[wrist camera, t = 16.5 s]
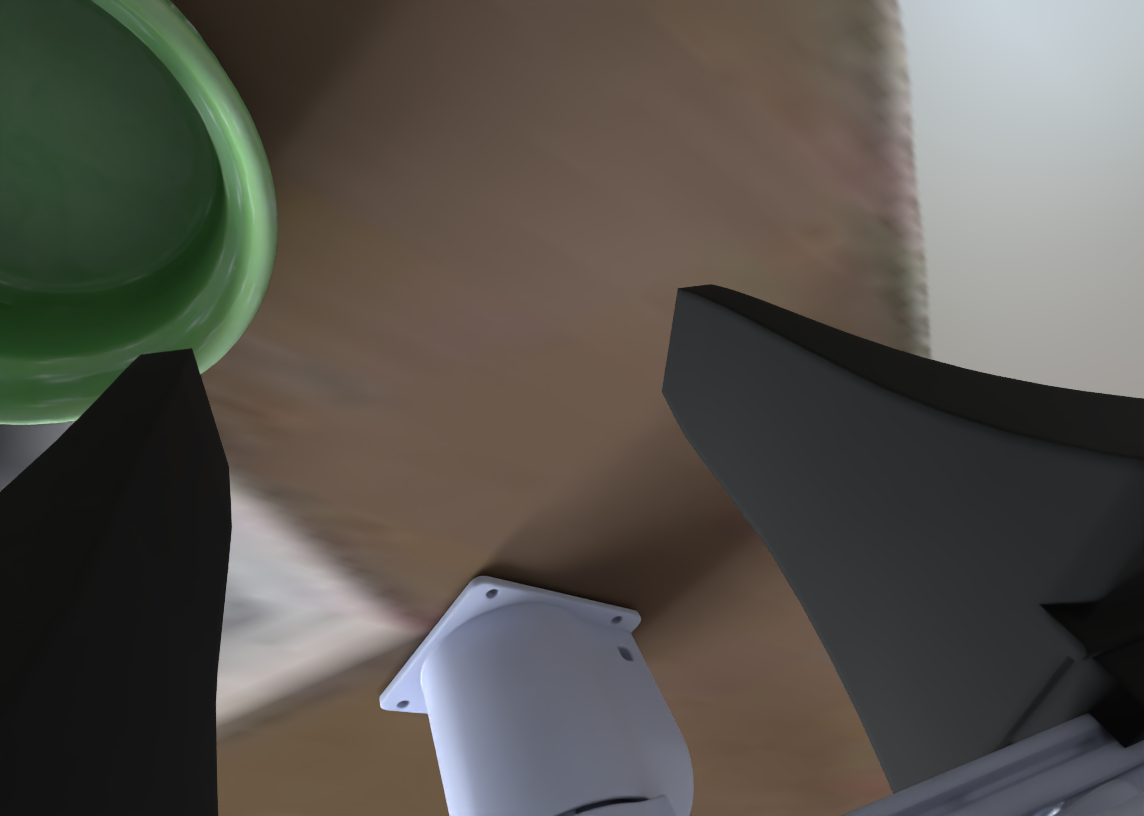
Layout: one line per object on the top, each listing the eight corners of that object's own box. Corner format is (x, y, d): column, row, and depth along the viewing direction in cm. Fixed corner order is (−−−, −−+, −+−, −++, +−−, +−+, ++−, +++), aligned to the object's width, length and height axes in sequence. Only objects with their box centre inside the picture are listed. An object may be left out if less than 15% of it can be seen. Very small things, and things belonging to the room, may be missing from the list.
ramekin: (351, 110, 16) (377, 168, 13) (143, 382, 18) (120, 491, 15) (-139, -294, 11) (-309, -371, 8) (-363, 159, 13) (-575, 255, 10)
